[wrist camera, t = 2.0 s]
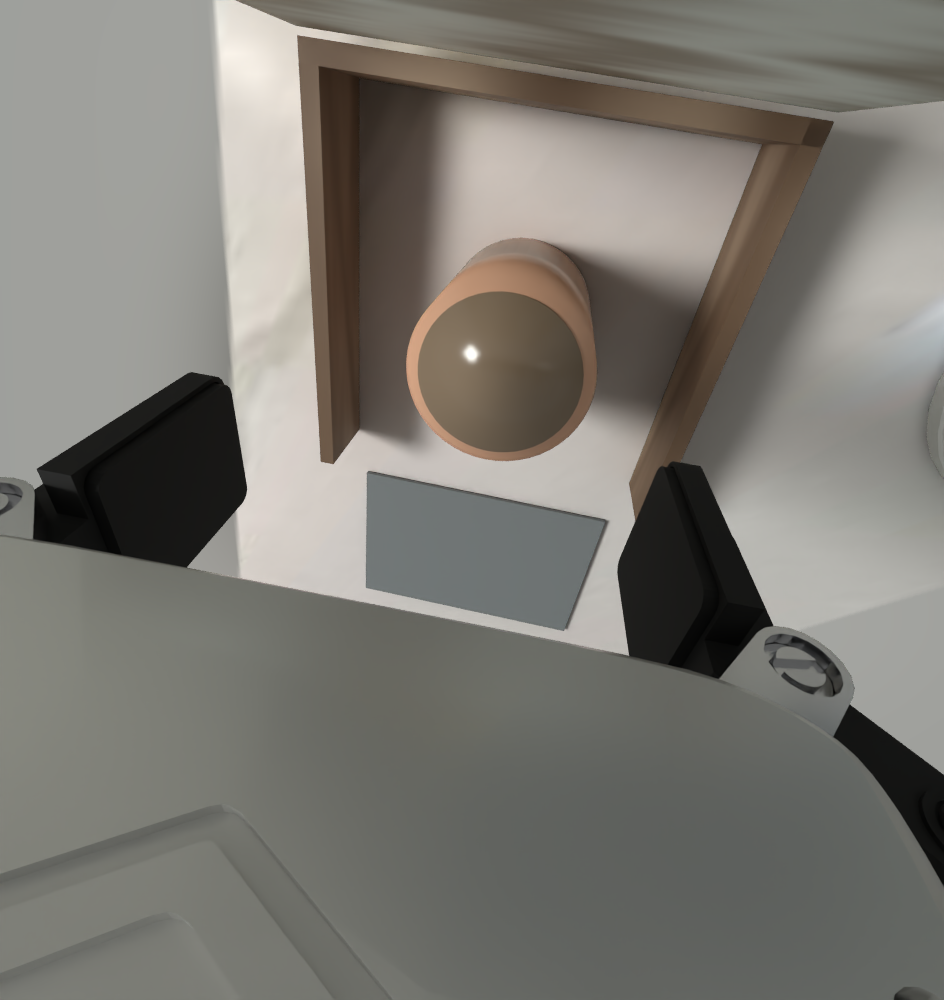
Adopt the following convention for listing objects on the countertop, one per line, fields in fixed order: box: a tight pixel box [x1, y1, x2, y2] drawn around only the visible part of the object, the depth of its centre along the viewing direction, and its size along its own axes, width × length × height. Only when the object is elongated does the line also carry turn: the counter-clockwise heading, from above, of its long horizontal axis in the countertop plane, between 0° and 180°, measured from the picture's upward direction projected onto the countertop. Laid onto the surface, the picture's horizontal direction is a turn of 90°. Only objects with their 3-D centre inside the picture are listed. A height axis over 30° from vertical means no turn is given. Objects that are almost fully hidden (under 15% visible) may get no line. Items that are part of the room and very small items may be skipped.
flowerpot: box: [406, 238, 597, 461], centre depth 19 cm, size 6×6×7 cm
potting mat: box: [366, 471, 605, 631], centre depth 30 cm, size 13×9×1 cm
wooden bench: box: [236, 0, 944, 521], centre depth 15 cm, size 15×15×16 cm
